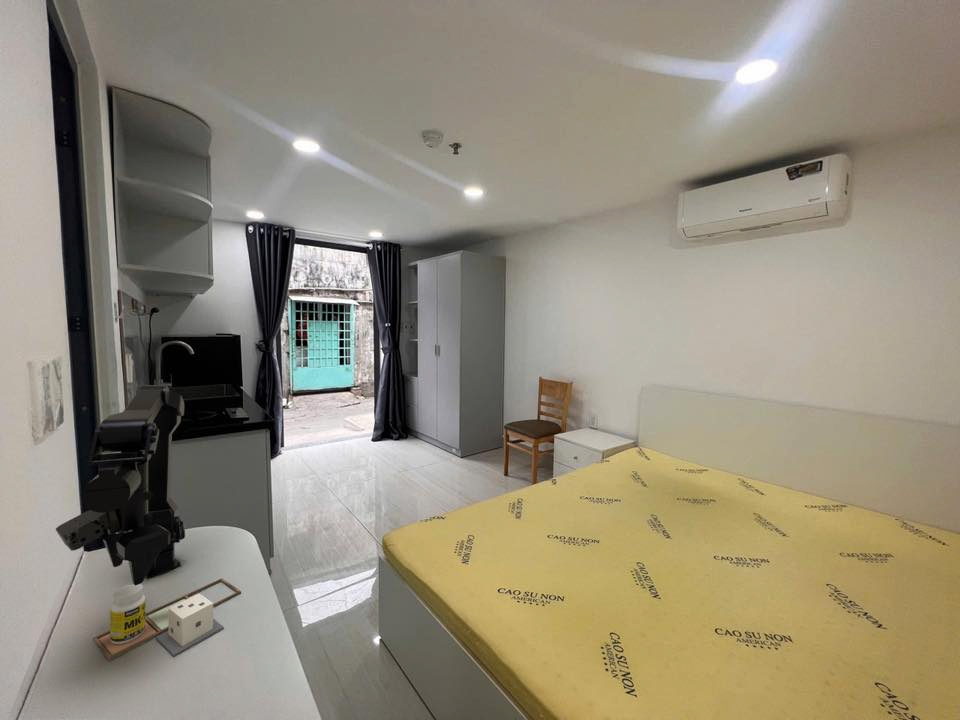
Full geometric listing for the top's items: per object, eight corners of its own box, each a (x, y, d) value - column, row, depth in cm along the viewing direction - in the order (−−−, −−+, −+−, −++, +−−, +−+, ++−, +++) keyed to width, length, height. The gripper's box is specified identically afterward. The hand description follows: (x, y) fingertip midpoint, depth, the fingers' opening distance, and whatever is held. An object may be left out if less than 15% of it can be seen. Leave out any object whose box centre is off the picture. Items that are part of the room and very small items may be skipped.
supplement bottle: (124, 647, 70) (124, 601, 69) (103, 642, 70) (102, 596, 70) (152, 628, 74) (152, 584, 74) (131, 623, 75) (131, 580, 75)
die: (168, 634, 73) (167, 607, 72) (198, 618, 77) (199, 592, 77) (182, 646, 70) (182, 619, 70) (213, 628, 75) (213, 602, 74)
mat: (155, 639, 72) (155, 637, 72) (205, 613, 79) (205, 611, 79) (173, 657, 68) (173, 654, 68) (223, 628, 75) (223, 626, 75)
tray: (92, 640, 71) (92, 637, 71) (221, 580, 89) (221, 578, 89) (109, 660, 67) (109, 658, 67) (240, 593, 85) (241, 591, 85)
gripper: (44, 490, 68) (46, 578, 69) (82, 520, 59) (83, 623, 60) (127, 472, 78) (128, 550, 79) (171, 496, 68) (171, 585, 69)
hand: (127, 574), depth 71 cm, fingers open, 9 cm apart
